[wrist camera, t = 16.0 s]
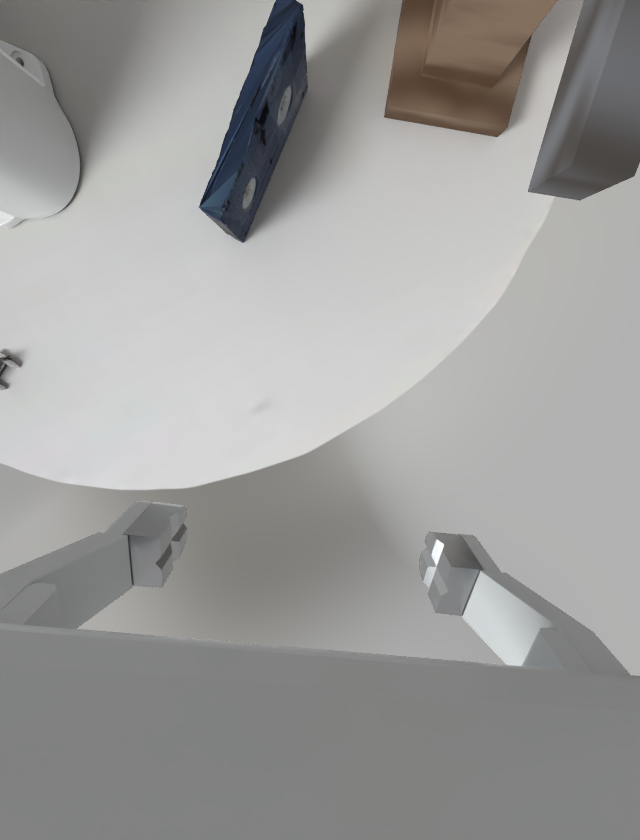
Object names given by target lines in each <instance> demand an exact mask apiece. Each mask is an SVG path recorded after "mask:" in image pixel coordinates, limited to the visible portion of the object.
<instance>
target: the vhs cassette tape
mask: <svg viewBox="0 0 640 840" xmlns="http://www.w3.org/2000/svg"><path fill="white" fill-rule="evenodd" d="M303 10H304V9H303V5H302V4H301V3H299V2H297V1H296V0H276V2H275V3H274V6H273V9H272V11H271V14H270V16H269V19H268V22H267V25H266V26H265V27H264V29H263V32H262V36H261V40H260V43H259V47H258V49H257V51H256V53H255V55H254V58H253V62H252V65H251V68H250V71H249V74H248V76H247V78H246V80H245V82H244V85H243V87H242V90H241V92H240V96H239V99H238V100H237V102H236V105H235V108H234V110H233V114H232V119H231V122H230V126H229V129H228V131H227V133H226V134H225V138H224V141H223V144H222V148H221V152H220V156H219V158H218V160H217V164H216V167H215V169H214V171H213V172H212V176H211V178H210V180H209V182H208V185H207V188H206V190H205V193H204V195H203V198H202V200H201V203H200V206H199V207H200V209H201V210H202V211H203V212H204V213H205V214H206V215H207V216H208V217H209V218H211V219H212V220H213V221H214V222H215V223H216V224H217V225H218V226H219V227H220V228H222V229H223V231H225V233H227V234H229V235H231V236H233V237H234V238H235V239H237V240H239V241H241V242H244V241H245V238H246V235H247V233H248V231H249V229H250V226H251V224H252V221H253V219H254V217H255V214H256V212H257V209H258V207H259V205H260V202H261V200H262V198H263V195H264V193H265V190H266V188H267V185H268V183H269V181H270V178H271V176H272V173H273V171H274V168H275V166H276V164H277V161H278V159H279V156H280V154H281V152H282V149H283V147H284V144H285V142H286V140H287V137H288V135H289V132H290V130H291V127H292V125H293V123H294V120H295V118H296V115H297V113H298V110H299V108H300V106H301V103H302V101H303V98H304V96H305V93H306V91H307V88H308V85H307V75H306V74H307V65H306V44H305V21H304V13H303Z"/></svg>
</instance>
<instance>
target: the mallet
mask: <svg viewBox="0 0 640 840" xmlns="http://www.w3.org/2000/svg"><path fill="white" fill-rule="evenodd" d="M639 163H640V0H584V3H583V6H582V10H581V13H580V16H579V20H578V23H577V27H576V30H575V33H574V37H573V40H572V44H571V47H570V50H569V54H568V57H567V60H566V64H565V67H564V71H563V74H562V77H561V81H560V84H559V87H558V91H557V94H556V98H555V101H554V104H553V108H552V111H551V114H550V118H549V121H548V125H547V128H546V131H545V135H544V138H543V142H542V145H541V148H540V152H539V155H538V158H537V162H536V165H535V169H534V172H533V175H532V179H531V182H530V185H529V189H528V192H532V193H538V194H544V195H551V196H557V197H563V198H569V199H575V200H582V199H584V198H586V197H588V196H591V195H593V194H595V193H597V192H600V191H602V190H604V189H606V188H609V187H611V186H613V185H615V184H618V183H620V182H622V181H624V180H627V179H629V178H631V177H633V176H634V175H635V173H636V171H637V168H638V165H639Z"/></svg>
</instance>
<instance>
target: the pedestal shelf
mask: <svg viewBox="0 0 640 840" xmlns="http://www.w3.org/2000/svg"><path fill="white" fill-rule="evenodd" d="M556 2H557V0H403V1H402V7H401V14H400V20H399V26H398V33H397V39H396V45H395V51H394V58H393V64H392V70H391V77H390V83H389V89H388V96H387V102H386V108H385V115H384V117H386V118H391V119H397V120H403V121H409V122H414V123H420V124H426V125H431V126H437V127H443V128H449V129H454V130H460V131H466V132H471V133H477V134H483V135H489V136H494V137H498V136H499V135H500V134H501V133H502V132H503V131H504V130H505V129H506V128H507V126H508V122H509V119H510V115H511V111H512V107H513V104H514V100H515V96H516V92H517V89H518V85H519V81H520V77H521V73H522V70H523V66H524V62H525V58H526V55H527V51H528V47H529V43H530V39H531V36H532V33H533V32H534V31H535V29H536V28H537V27H538V25H539V24H540V23H541V21H542V20H543V19H544V17H545V16H546V15H547V13H548V12H549V11H550V9H551V8H552V7H553V5H554V4H555V3H556Z"/></svg>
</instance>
